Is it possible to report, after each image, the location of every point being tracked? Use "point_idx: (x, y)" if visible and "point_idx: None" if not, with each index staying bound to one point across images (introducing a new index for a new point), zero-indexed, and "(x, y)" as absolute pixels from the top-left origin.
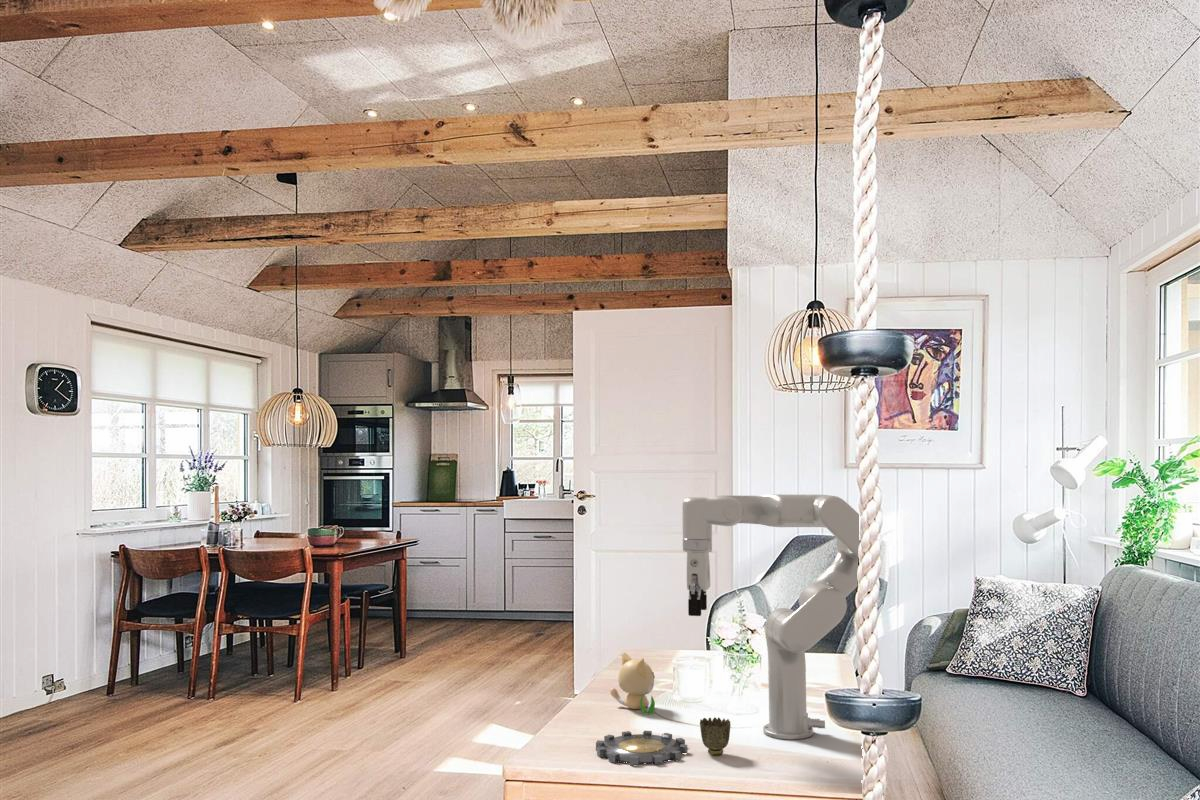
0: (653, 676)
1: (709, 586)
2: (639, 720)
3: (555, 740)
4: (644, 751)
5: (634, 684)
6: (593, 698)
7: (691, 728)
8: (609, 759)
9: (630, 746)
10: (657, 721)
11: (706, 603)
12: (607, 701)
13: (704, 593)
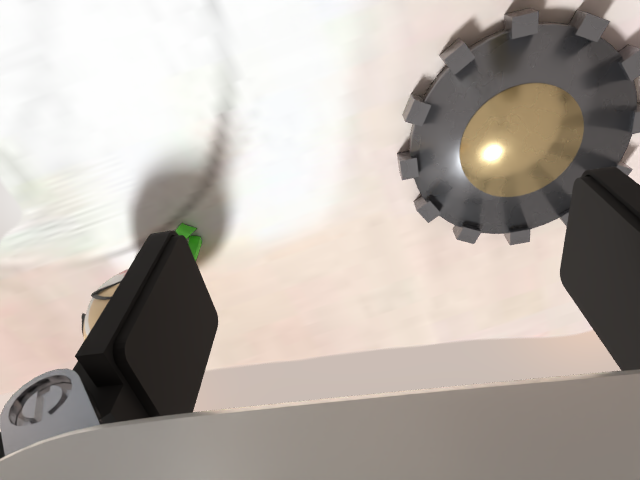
0: (113, 288)
1: (193, 438)
2: (258, 230)
3: (467, 318)
4: (575, 118)
5: None
6: None
7: (267, 85)
8: None
9: (534, 165)
10: (246, 191)
11: (145, 267)
12: None
13: (87, 387)
